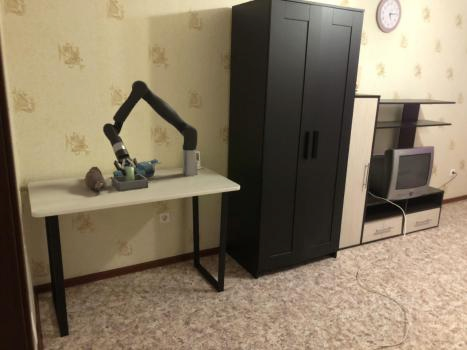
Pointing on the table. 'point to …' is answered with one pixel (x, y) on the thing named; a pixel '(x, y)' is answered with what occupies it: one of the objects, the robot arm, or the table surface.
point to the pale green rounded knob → (129, 174)
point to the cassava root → (95, 179)
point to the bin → (129, 183)
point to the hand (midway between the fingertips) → (130, 174)
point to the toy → (142, 169)
